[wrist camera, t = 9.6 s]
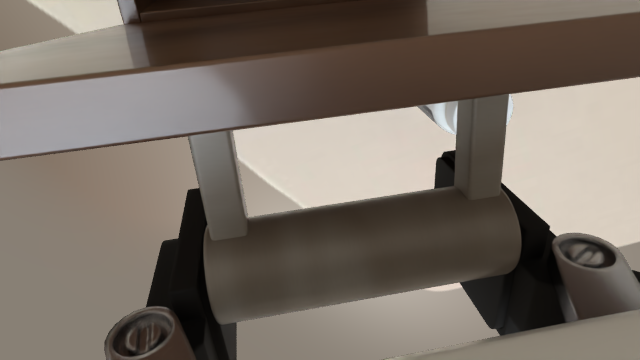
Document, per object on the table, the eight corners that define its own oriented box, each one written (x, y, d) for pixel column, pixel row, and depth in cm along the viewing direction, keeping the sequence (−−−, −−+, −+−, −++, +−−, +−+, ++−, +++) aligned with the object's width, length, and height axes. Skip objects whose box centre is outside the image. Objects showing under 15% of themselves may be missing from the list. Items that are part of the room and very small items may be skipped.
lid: (-328, 121, 4) (-77, 467, 6) (909, -19, 6) (774, 297, 8) (120, 24, 19) (150, 137, 21) (430, -7, 21) (429, 101, 23)
